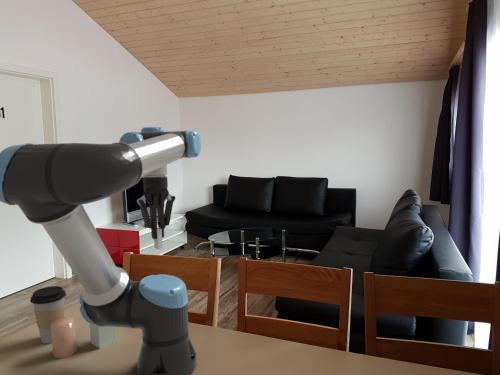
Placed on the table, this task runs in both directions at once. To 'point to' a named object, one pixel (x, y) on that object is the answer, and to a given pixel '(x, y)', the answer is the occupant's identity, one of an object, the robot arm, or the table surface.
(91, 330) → the sage tin
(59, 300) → the coffee cup
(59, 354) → the peach rounded cylinder
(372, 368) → the table surface
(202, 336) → the table surface
